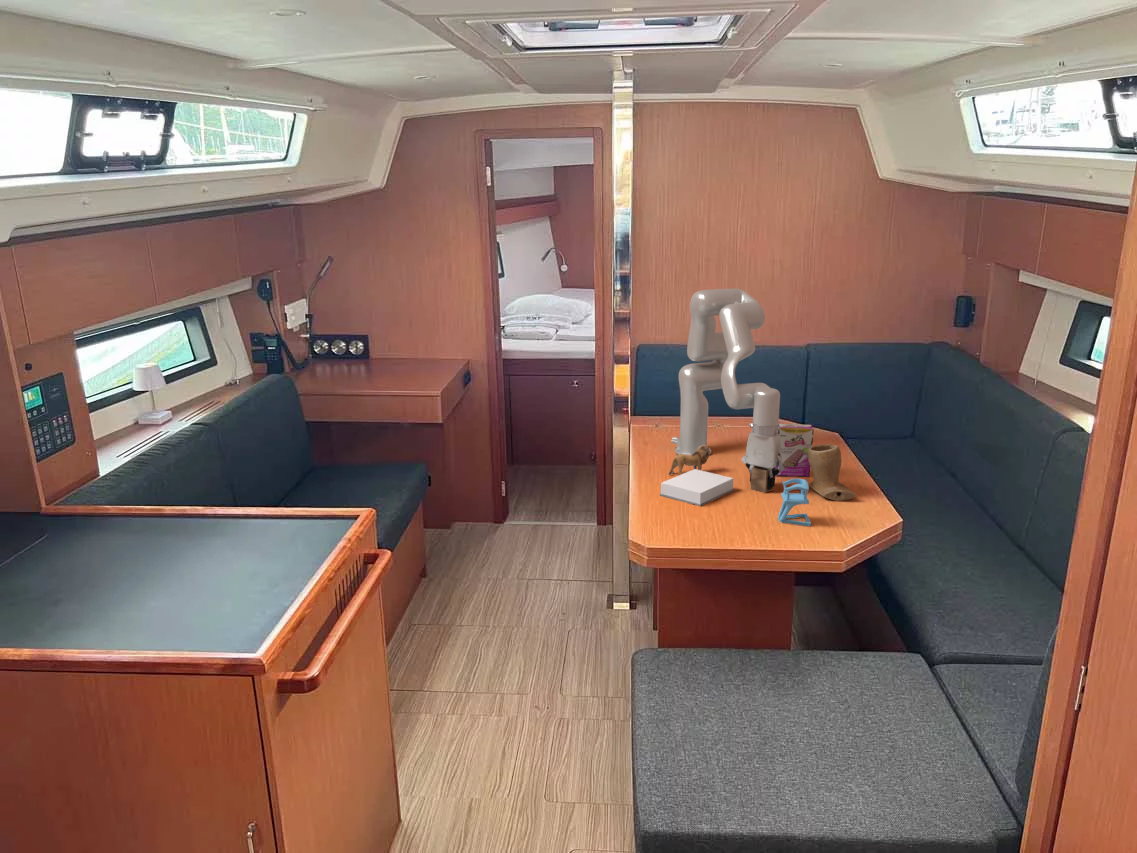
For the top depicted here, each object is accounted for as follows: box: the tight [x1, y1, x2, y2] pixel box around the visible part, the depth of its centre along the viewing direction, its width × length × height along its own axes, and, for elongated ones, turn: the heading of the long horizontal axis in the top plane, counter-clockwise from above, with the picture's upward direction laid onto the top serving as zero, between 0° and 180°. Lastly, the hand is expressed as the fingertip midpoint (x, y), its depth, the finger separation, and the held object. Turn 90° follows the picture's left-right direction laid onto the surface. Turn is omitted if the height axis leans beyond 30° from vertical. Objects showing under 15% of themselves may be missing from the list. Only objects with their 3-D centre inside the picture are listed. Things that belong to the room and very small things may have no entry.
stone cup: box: [807, 443, 857, 502], centre depth 256 cm, size 15×12×15 cm
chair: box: [777, 478, 812, 527], centre depth 236 cm, size 8×8×12 cm
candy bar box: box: [775, 423, 815, 478], centre depth 274 cm, size 11×5×16 cm, turn 84°
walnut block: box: [750, 466, 774, 494], centre depth 262 cm, size 5×5×7 cm
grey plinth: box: [659, 468, 735, 507], centre depth 259 cm, size 14×18×4 cm
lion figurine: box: [668, 445, 711, 476], centre depth 277 cm, size 15×5×9 cm, turn 112°
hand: (762, 486), depth 263 cm, fingers closed on walnut block, 5 cm apart
